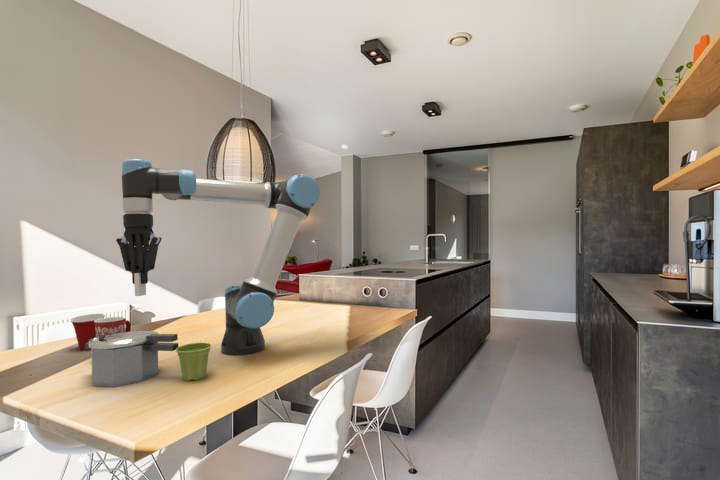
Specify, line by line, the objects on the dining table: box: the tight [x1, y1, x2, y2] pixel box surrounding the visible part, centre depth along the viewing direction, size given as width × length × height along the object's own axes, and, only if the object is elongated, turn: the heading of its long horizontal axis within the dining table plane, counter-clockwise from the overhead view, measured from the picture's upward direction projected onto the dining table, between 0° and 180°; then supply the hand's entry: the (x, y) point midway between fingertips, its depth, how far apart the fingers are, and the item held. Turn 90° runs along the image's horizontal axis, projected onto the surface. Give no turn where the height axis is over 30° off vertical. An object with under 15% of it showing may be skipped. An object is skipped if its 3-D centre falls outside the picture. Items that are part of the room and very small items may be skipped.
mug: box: [94, 316, 132, 337], centre depth 132 cm, size 13×9×14 cm
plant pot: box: [175, 342, 212, 382], centre depth 111 cm, size 9×9×9 cm
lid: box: [88, 330, 179, 349], centre depth 112 cm, size 25×17×3 cm
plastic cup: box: [69, 313, 106, 351], centre depth 145 cm, size 11×11×12 cm
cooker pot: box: [85, 342, 179, 388], centre depth 113 cm, size 28×16×10 cm, turn 81°
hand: (140, 295), depth 112 cm, fingers closed
